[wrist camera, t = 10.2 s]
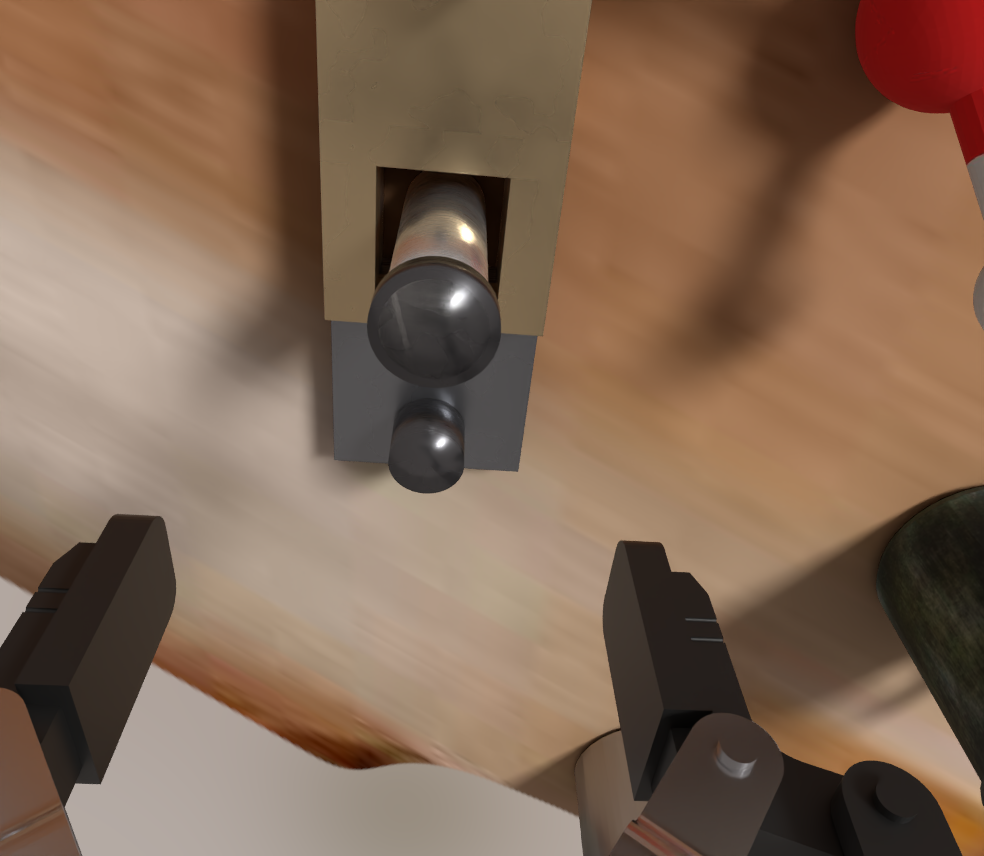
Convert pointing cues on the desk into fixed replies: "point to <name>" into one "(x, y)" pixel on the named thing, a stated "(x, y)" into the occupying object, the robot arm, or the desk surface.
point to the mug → (943, 609)
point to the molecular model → (931, 71)
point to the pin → (437, 287)
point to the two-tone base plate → (454, 149)
